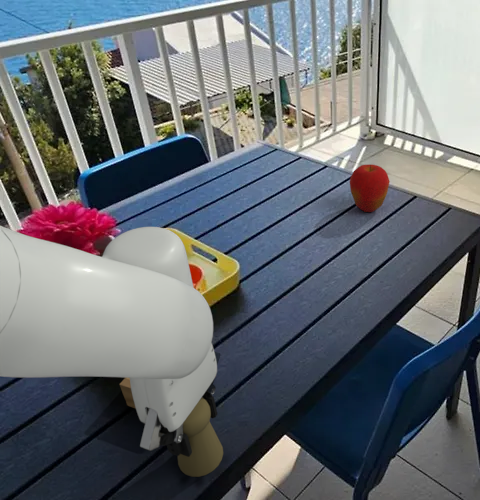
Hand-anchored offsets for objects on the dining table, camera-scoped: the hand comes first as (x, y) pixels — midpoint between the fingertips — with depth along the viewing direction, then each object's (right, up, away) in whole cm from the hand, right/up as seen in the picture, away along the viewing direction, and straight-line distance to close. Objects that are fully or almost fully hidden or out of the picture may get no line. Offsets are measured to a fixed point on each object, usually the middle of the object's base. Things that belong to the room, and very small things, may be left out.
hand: (193, 431), depth 65 cm
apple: (+25, +33, +57) cm, 70 cm away
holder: (-7, +2, +12) cm, 14 cm away
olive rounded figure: (0, -5, +4) cm, 6 cm away
